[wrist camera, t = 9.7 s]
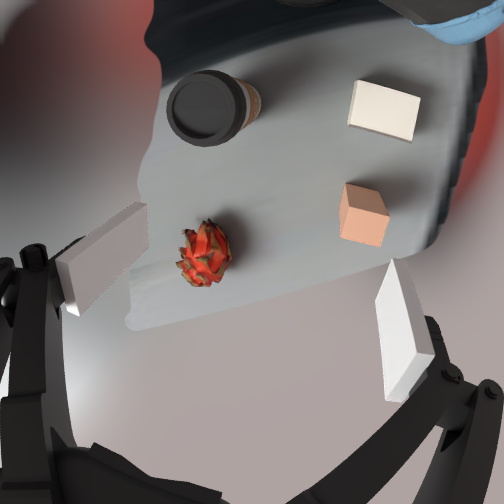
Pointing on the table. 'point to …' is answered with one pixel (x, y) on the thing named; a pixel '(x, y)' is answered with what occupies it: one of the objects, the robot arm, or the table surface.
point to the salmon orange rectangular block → (362, 215)
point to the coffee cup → (211, 107)
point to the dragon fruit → (204, 255)
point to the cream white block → (383, 111)
